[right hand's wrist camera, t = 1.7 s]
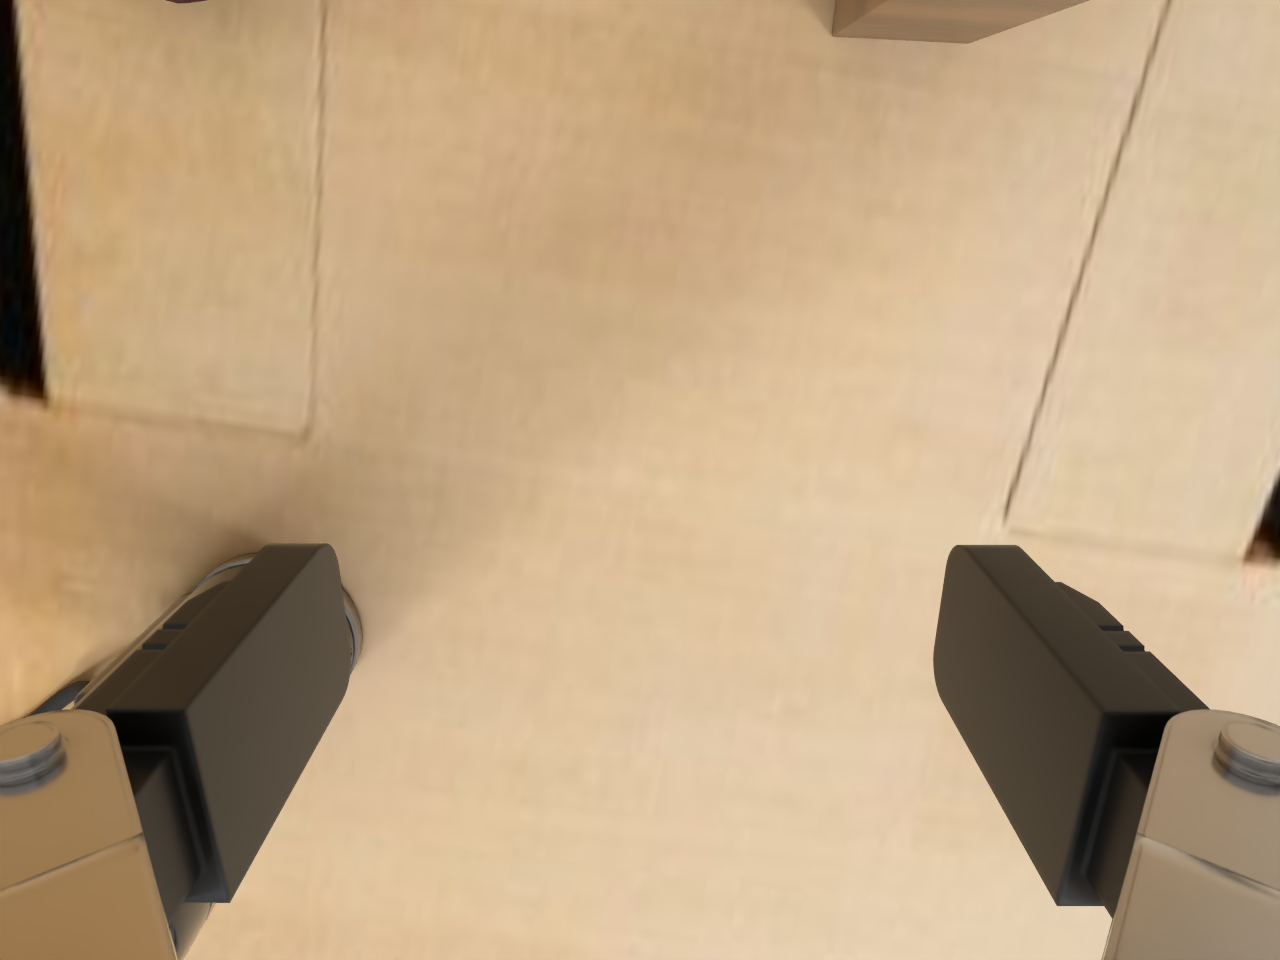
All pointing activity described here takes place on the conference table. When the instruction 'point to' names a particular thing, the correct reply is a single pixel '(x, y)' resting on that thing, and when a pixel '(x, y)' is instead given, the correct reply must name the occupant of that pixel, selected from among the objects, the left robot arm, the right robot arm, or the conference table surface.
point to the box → (937, 18)
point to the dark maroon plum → (184, 1)
